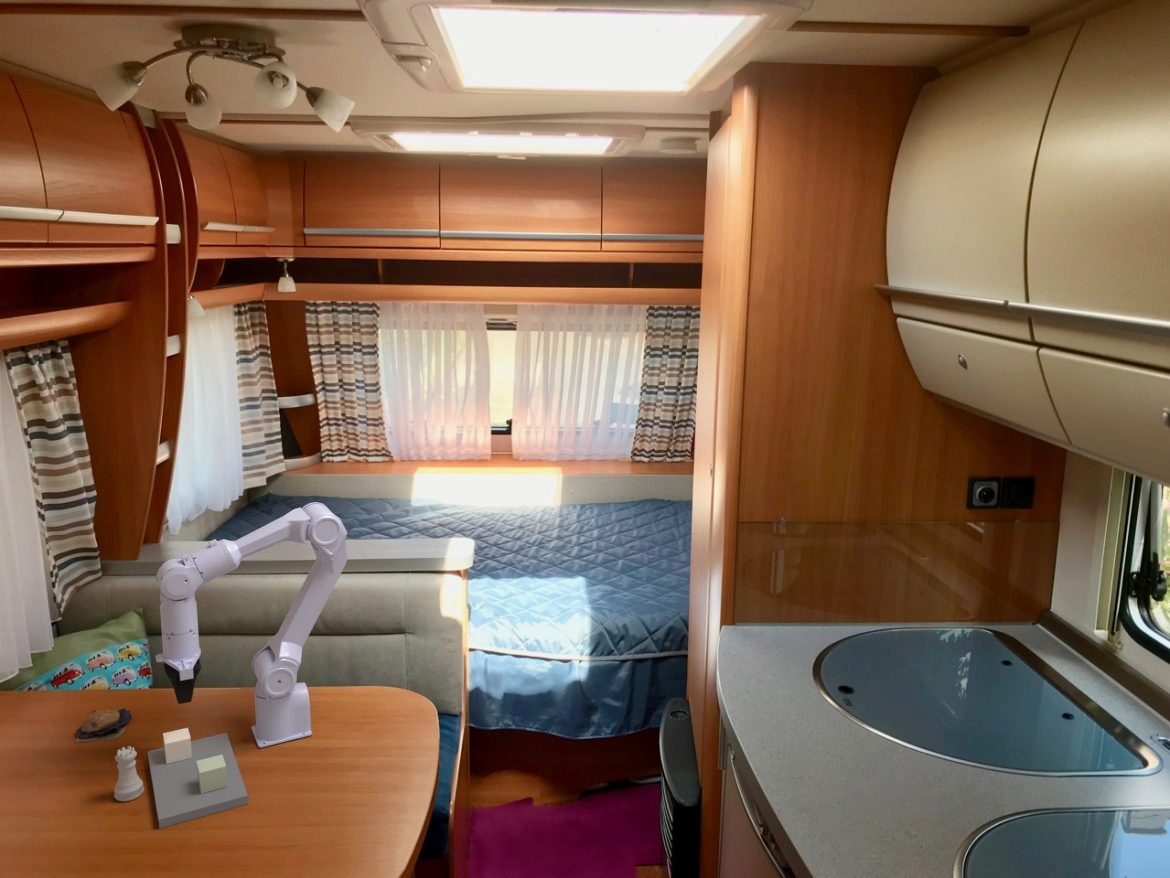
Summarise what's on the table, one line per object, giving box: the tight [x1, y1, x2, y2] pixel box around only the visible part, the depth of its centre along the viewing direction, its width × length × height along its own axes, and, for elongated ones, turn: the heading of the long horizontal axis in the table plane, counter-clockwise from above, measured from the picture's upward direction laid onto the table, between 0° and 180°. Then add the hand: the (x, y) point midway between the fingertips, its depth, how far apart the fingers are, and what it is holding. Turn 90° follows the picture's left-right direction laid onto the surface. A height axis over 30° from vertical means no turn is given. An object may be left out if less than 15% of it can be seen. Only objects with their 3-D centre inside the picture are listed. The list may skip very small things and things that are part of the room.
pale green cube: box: [196, 755, 227, 794], centre depth 141 cm, size 4×4×4 cm
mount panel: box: [147, 732, 249, 829], centre depth 145 cm, size 13×22×4 cm, turn 31°
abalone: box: [74, 708, 133, 744], centre depth 161 cm, size 11×8×4 cm
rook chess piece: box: [113, 745, 145, 803], centre depth 140 cm, size 4×4×8 cm
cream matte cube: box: [162, 727, 192, 764], centre depth 149 cm, size 4×4×4 cm
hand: (184, 701), depth 150 cm, fingers closed
